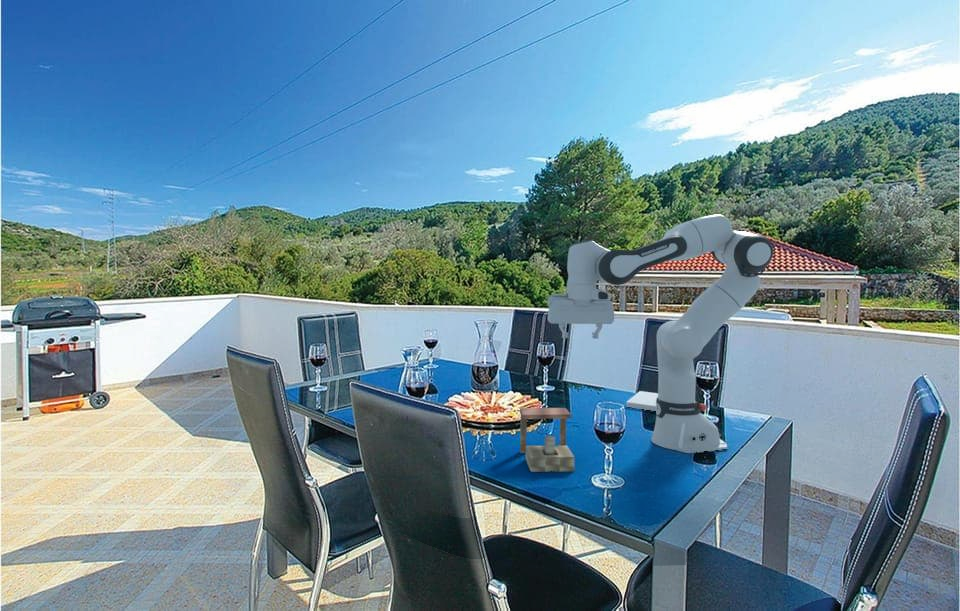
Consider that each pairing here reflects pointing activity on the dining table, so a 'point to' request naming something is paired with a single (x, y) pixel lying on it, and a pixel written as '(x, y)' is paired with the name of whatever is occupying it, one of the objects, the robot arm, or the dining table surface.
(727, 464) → the dining table surface
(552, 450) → the peg
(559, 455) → the socket block
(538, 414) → the brown wooden arch
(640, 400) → the food packaging
